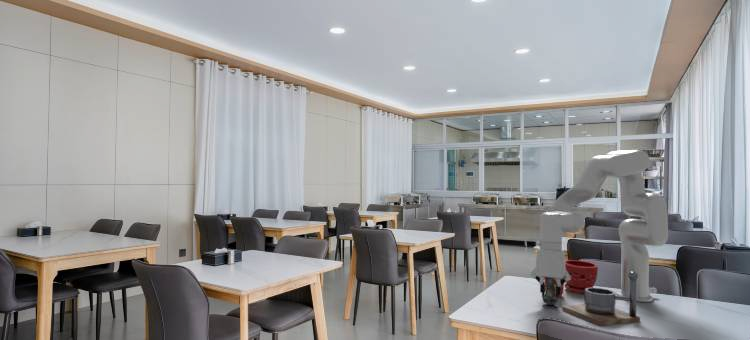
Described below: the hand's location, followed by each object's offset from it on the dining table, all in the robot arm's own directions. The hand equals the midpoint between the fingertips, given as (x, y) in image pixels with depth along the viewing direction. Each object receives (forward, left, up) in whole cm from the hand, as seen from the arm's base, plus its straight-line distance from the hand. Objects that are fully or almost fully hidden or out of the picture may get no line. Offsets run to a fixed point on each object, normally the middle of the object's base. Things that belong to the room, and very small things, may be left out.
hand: (550, 295), depth 160 cm
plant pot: (-28, -15, -5) cm, 32 cm away
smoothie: (-12, -12, -5) cm, 18 cm away
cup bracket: (-10, +13, -4) cm, 17 cm away
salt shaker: (0, 0, -5) cm, 5 cm away
